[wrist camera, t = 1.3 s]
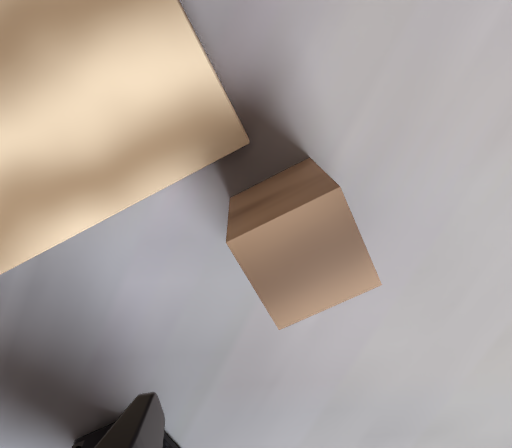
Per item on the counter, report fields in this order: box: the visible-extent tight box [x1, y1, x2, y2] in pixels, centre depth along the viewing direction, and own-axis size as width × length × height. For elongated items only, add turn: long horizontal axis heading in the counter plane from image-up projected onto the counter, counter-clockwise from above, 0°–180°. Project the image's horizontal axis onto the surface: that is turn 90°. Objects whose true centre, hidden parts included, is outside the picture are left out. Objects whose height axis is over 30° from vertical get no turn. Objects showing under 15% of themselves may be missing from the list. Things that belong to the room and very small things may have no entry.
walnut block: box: [226, 158, 382, 330], centre depth 17 cm, size 5×5×6 cm
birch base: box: [0, 0, 250, 275], centre depth 15 cm, size 16×16×2 cm
